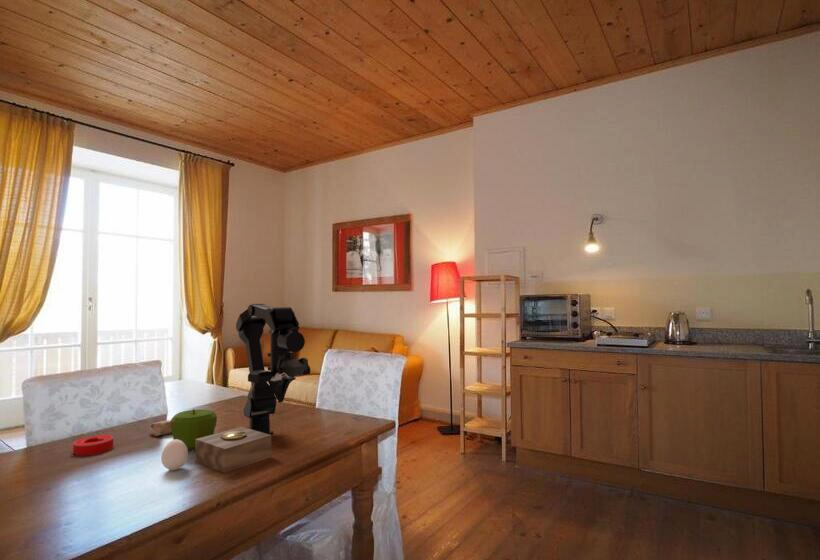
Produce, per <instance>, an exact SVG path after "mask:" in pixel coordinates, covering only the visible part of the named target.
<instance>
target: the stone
mask: <svg viewBox="0 0 820 560" xmlns="http://www.w3.org/2000/svg"><path fill="white" fill-rule="evenodd" d="M149 431H150V433H151V434H152V435H153V436H154V437H159V436H162V435H167V434H168V435H169V434H172V430H171V419H170V420H162V421H161V420H160V421H158V422H153V423H151V425H150V426H149Z"/></svg>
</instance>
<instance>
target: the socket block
mask: <svg viewBox="0 0 820 560" xmlns="http://www.w3.org/2000/svg"><path fill="white" fill-rule="evenodd" d="M232 431H244V432H245V436H244V437H243V438H240V439H237V440H234V441H228V440H225V439H222V435H223V434H224V433H227V432H232ZM194 452H195V453H194V454H195V459H194V460H195V463H198V464H200V465H203V466H206V467H208V468H210V469H213V470H216V471H218V472H221V473H223V474H226V473H230V472H231V471H235V470H237V469H240V468H243V467H246V466H250V465H252V464H255V463H259V462H260V461H264V460H266V459H270V458H271V457H272V435H271V434H266V433H262V432H259V431H255V430H251V429H249V428H247V427H244V426H240V427H237V428H231V429H229V430H228V429H227V430H225V431H221V432H218V433H214V434H213V435H209V436H206V437H202V438H198V439H195V451H194Z"/></svg>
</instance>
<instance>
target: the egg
mask: <svg viewBox="0 0 820 560" xmlns="http://www.w3.org/2000/svg"><path fill="white" fill-rule="evenodd" d="M163 447H164V448H163V449H162V452H161V458H160V459H161V464H162V465H163V466H164V468H165V469H167V470H169V471H176V470H179V469H180V468H182V467H183V466H184V465H185V464H186V462H187V460H188V455H189V453H188V452H189V451H188V450H187V447H186V445H185V444H184V443H183V442H182V441H181V440H178V439H175V440H173V439H172V440H170V441H168V442H167V443H166V445H165V446H163Z"/></svg>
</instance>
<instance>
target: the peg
mask: <svg viewBox="0 0 820 560" xmlns="http://www.w3.org/2000/svg"><path fill="white" fill-rule="evenodd" d="M244 436H245V432H244V431H232V432H227V433H224V434H223V435H222V439H225V440H228V441H234V440H237V439H240V438H243V437H244Z"/></svg>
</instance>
